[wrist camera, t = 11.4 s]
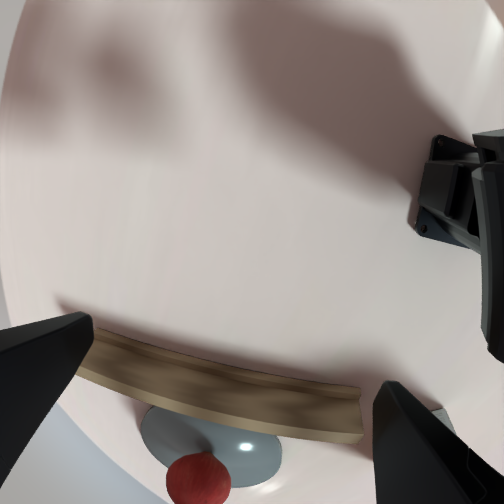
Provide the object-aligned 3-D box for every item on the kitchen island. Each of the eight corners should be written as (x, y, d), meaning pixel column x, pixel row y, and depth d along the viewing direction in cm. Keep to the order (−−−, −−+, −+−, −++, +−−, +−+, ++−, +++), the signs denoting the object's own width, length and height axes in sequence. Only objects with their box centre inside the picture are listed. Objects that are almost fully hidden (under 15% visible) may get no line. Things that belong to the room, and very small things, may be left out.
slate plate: (298, 416, 24) (297, 425, 23) (267, 489, 28) (266, 496, 27) (139, 378, 25) (135, 385, 24) (149, 460, 29) (146, 466, 28)
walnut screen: (359, 388, 22) (367, 429, 18) (350, 408, 23) (354, 449, 18) (97, 327, 24) (68, 355, 20) (100, 349, 25) (73, 378, 20)
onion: (244, 470, 26) (228, 535, 18) (191, 467, 27) (168, 526, 19) (229, 436, 24) (207, 509, 17) (171, 433, 25) (140, 497, 18)
